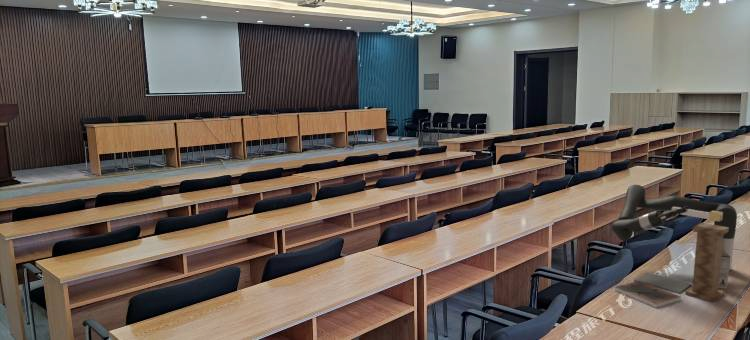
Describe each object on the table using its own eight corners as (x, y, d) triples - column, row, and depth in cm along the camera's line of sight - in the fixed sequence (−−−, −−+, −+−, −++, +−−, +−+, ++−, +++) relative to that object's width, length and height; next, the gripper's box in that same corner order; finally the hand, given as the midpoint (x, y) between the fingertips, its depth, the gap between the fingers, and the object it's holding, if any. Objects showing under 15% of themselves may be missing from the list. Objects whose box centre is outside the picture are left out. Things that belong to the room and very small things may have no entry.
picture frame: (614, 291, 254) (655, 309, 235) (614, 286, 254) (656, 303, 235) (638, 284, 261) (680, 301, 242) (639, 279, 261) (680, 296, 241)
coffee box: (705, 280, 263) (708, 248, 260) (719, 281, 261) (722, 249, 258) (712, 287, 254) (715, 255, 251) (727, 288, 252) (731, 256, 249)
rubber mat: (633, 280, 264) (633, 279, 264) (646, 273, 273) (646, 272, 273) (679, 293, 248) (679, 292, 248) (691, 285, 257) (691, 283, 257)
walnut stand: (685, 294, 247) (691, 227, 242) (695, 286, 255) (701, 221, 249) (714, 302, 238) (721, 233, 233) (724, 294, 246) (730, 227, 240)
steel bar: (670, 213, 251) (671, 205, 250) (674, 211, 254) (674, 204, 253) (719, 221, 236) (719, 213, 236) (722, 219, 239) (723, 212, 238)
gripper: (642, 216, 257) (677, 203, 244) (654, 210, 265) (689, 198, 253) (649, 230, 255) (684, 219, 242) (661, 224, 264) (696, 213, 251)
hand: (686, 208), depth 247 cm, fingers closed on steel bar, 2 cm apart
